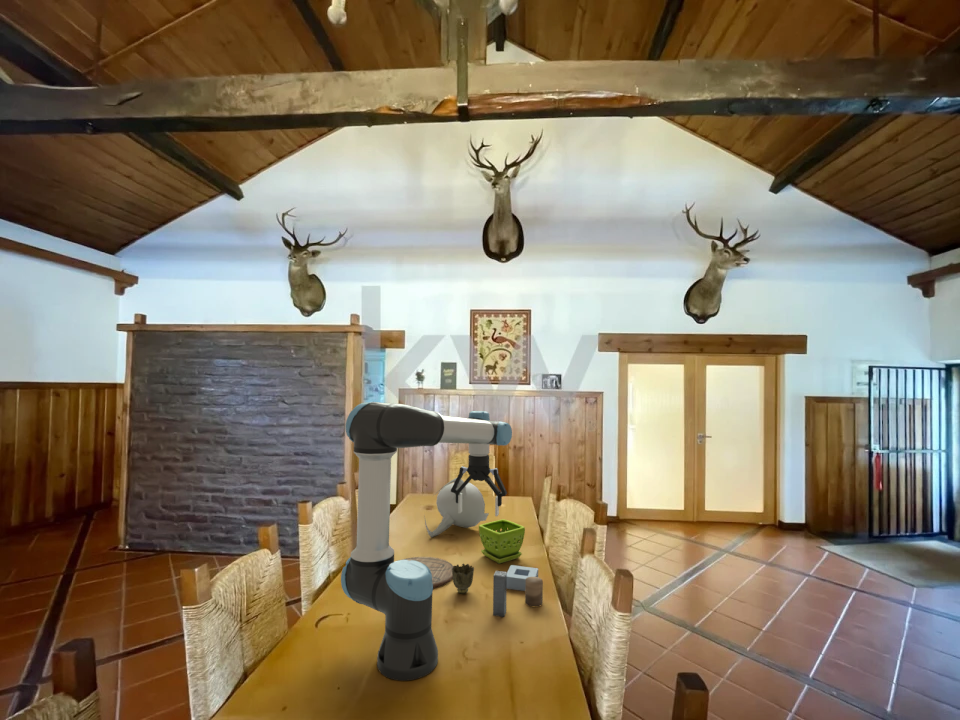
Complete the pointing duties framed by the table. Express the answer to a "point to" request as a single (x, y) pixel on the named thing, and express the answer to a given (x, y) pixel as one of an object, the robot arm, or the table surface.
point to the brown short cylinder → (534, 591)
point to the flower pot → (501, 540)
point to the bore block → (519, 576)
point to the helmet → (449, 508)
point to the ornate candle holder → (462, 577)
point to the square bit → (499, 593)
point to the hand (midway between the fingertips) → (478, 513)
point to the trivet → (436, 569)
